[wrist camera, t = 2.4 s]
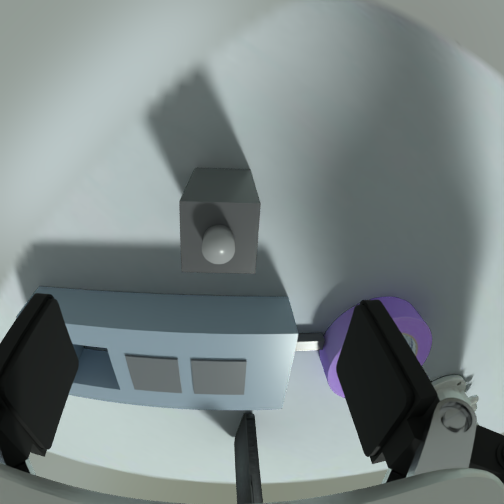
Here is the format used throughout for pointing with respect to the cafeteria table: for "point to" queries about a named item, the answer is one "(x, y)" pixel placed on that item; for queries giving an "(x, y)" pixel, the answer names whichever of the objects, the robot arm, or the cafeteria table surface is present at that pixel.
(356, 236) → the cafeteria table surface
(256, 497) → the phone
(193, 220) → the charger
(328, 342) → the masking tape
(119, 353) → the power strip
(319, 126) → the cafeteria table surface
